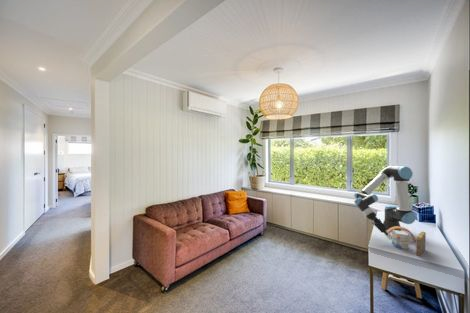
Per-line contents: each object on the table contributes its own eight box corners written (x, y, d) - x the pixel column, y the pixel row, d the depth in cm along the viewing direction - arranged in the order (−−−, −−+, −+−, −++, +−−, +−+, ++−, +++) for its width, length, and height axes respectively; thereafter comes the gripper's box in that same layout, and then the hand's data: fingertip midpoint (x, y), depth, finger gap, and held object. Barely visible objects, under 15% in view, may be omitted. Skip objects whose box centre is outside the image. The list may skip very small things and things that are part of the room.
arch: (415, 242, 176) (415, 230, 176) (386, 237, 186) (387, 226, 186) (413, 239, 181) (414, 228, 181) (385, 234, 191) (386, 224, 191)
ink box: (395, 247, 166) (396, 233, 165) (391, 243, 174) (392, 229, 173) (408, 249, 163) (409, 234, 162) (404, 244, 171) (404, 230, 170)
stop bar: (421, 248, 164) (422, 231, 164) (425, 249, 162) (425, 232, 162) (416, 255, 153) (416, 237, 153) (419, 256, 151) (420, 237, 151)
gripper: (369, 214, 191) (389, 238, 178) (363, 217, 183) (384, 242, 170) (375, 210, 186) (397, 234, 173) (370, 212, 178) (392, 238, 166)
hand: (391, 238), depth 172 cm, fingers closed
